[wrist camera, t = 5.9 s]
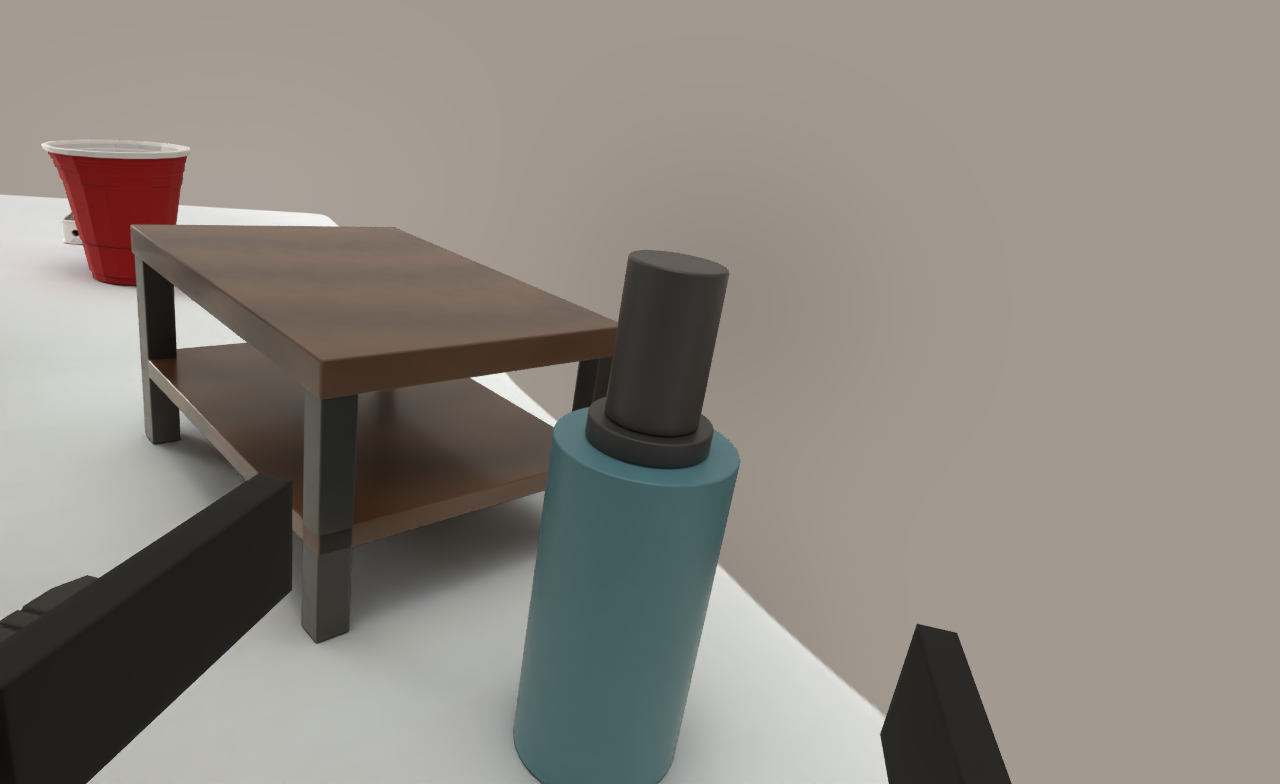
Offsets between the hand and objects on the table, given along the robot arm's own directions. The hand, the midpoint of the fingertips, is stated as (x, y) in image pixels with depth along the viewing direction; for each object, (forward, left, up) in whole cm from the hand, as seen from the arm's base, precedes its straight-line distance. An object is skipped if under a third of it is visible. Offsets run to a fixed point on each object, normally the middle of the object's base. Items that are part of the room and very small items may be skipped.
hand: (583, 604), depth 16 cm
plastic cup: (-71, +10, -12) cm, 73 cm away
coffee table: (-26, +9, -12) cm, 30 cm away
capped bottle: (-5, +8, -12) cm, 15 cm away
